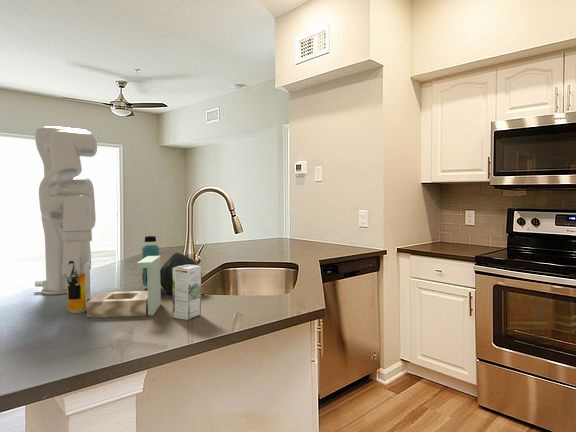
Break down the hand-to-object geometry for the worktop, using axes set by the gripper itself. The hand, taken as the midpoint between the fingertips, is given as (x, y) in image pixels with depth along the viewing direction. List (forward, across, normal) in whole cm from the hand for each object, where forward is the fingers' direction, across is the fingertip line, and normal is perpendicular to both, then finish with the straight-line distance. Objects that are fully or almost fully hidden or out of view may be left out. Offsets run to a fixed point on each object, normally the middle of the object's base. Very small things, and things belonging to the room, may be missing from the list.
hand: (79, 295), depth 118 cm
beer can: (+5, 0, 0) cm, 5 cm away
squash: (+5, -21, +27) cm, 35 cm away
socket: (+5, +2, +13) cm, 14 cm away
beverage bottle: (+5, -29, +15) cm, 33 cm away
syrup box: (+5, +11, +33) cm, 35 cm away
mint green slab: (+5, +2, +21) cm, 22 cm away
